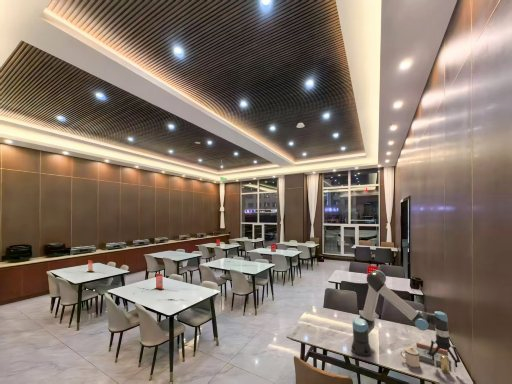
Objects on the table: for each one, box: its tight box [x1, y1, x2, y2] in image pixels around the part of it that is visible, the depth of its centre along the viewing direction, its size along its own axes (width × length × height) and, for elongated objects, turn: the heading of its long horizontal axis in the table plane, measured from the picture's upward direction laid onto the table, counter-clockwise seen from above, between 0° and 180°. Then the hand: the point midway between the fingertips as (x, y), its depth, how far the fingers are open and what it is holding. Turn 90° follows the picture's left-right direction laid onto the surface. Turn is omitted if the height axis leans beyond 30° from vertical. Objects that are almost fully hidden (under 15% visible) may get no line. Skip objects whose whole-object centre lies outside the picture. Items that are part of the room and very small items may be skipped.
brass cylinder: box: [440, 355, 450, 375], centre depth 165 cm, size 5×5×10 cm
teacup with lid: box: [400, 346, 421, 368], centre depth 174 cm, size 12×9×12 cm
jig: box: [415, 341, 450, 367], centre depth 180 cm, size 20×16×6 cm
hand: (445, 368), depth 164 cm, fingers open, 10 cm apart
